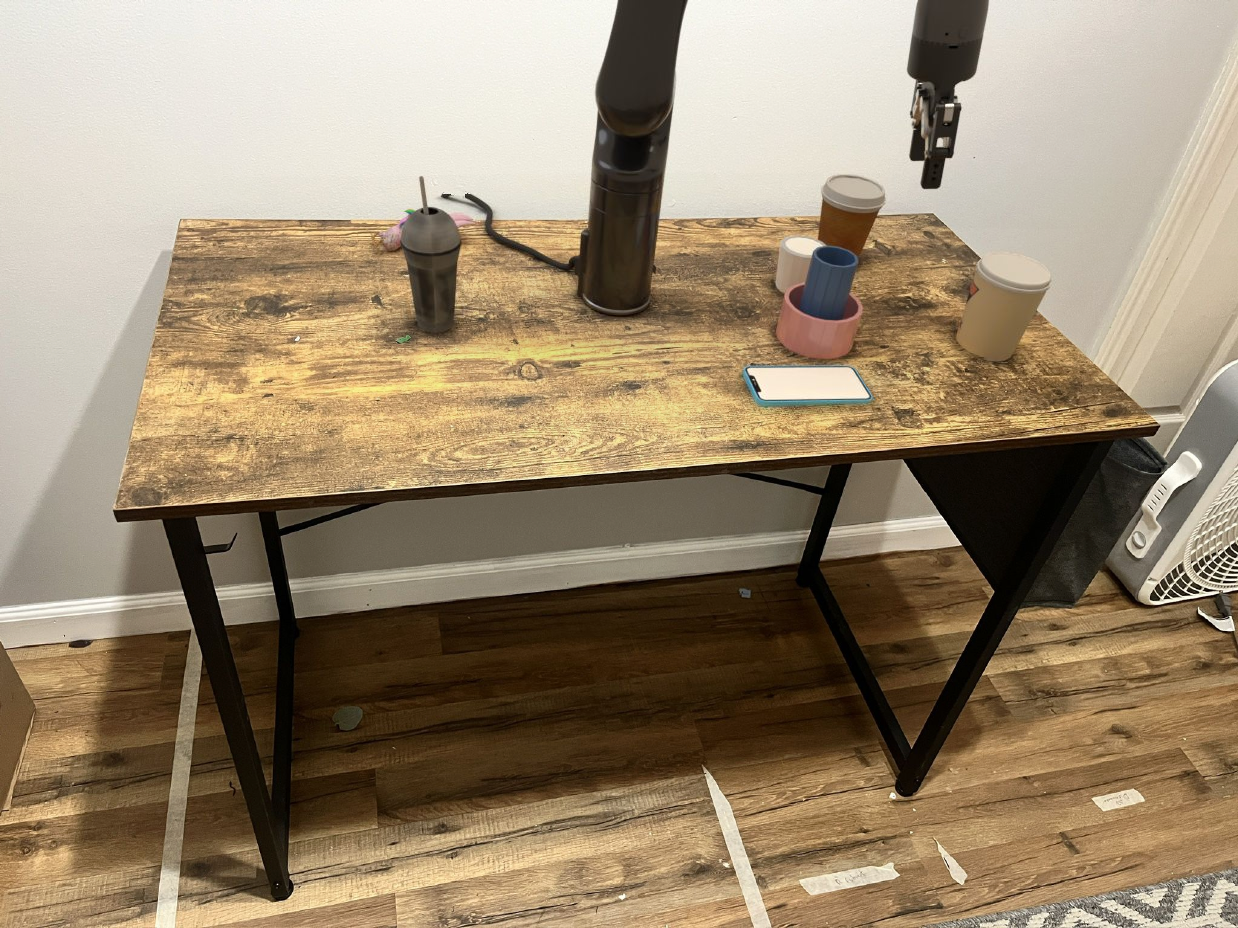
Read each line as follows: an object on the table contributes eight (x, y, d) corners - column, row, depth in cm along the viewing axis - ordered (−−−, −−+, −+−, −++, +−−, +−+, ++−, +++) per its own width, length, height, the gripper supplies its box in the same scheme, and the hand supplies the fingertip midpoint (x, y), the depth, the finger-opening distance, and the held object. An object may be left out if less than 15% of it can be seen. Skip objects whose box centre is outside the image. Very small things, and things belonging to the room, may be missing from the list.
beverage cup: (475, 319, 116) (471, 171, 103) (443, 345, 111) (436, 192, 98) (428, 303, 118) (419, 155, 105) (395, 328, 113) (381, 176, 100)
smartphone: (875, 400, 108) (759, 402, 105) (872, 408, 109) (756, 409, 106) (853, 365, 114) (741, 366, 111) (850, 372, 115) (740, 373, 112)
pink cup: (762, 342, 118) (771, 303, 114) (795, 312, 125) (804, 274, 121) (832, 371, 114) (844, 331, 110) (862, 338, 121) (874, 300, 117)
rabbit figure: (381, 267, 127) (481, 241, 130) (370, 229, 123) (474, 203, 126) (373, 247, 131) (470, 222, 134) (362, 210, 127) (463, 185, 130)
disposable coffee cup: (875, 259, 139) (897, 185, 131) (853, 282, 133) (875, 206, 125) (819, 240, 143) (837, 167, 135) (795, 261, 136) (813, 186, 129)
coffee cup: (969, 320, 127) (1000, 243, 119) (1030, 349, 122) (1066, 271, 115) (936, 342, 122) (966, 263, 114) (998, 373, 117) (1034, 293, 109)
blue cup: (786, 338, 118) (806, 256, 110) (803, 321, 122) (824, 241, 114) (824, 354, 116) (847, 271, 108) (841, 336, 120) (864, 255, 112)
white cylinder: (816, 305, 127) (828, 260, 122) (769, 296, 127) (779, 252, 123) (818, 282, 132) (829, 239, 127) (772, 274, 133) (782, 231, 128)
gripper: (903, 15, 104) (884, 152, 114) (924, 50, 93) (900, 198, 103) (969, 12, 103) (944, 151, 113) (998, 47, 92) (967, 197, 102)
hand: (923, 173), depth 108 cm, fingers open, 8 cm apart
